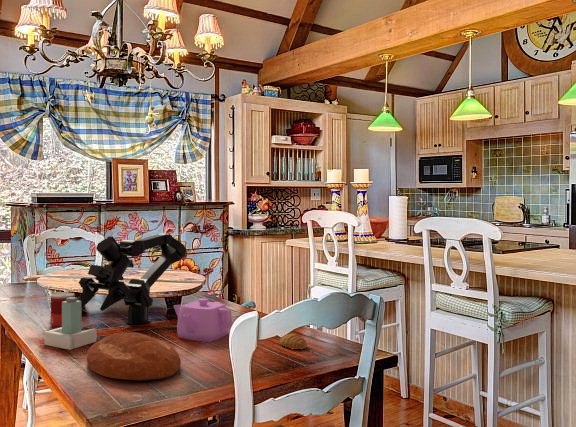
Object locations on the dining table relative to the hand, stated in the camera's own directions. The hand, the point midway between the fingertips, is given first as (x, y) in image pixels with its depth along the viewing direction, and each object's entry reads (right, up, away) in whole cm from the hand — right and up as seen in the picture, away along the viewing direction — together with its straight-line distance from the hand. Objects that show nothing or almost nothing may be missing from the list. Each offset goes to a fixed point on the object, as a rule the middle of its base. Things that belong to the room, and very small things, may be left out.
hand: (90, 308), depth 173 cm
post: (-4, -10, -6) cm, 12 cm away
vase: (-21, -8, +27) cm, 35 cm away
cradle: (-4, -10, -6) cm, 12 cm away
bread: (+22, -11, -28) cm, 37 cm away
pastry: (+66, -11, -6) cm, 67 cm away
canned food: (-15, -9, +14) cm, 23 cm away
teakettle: (+35, -10, +4) cm, 37 cm away
